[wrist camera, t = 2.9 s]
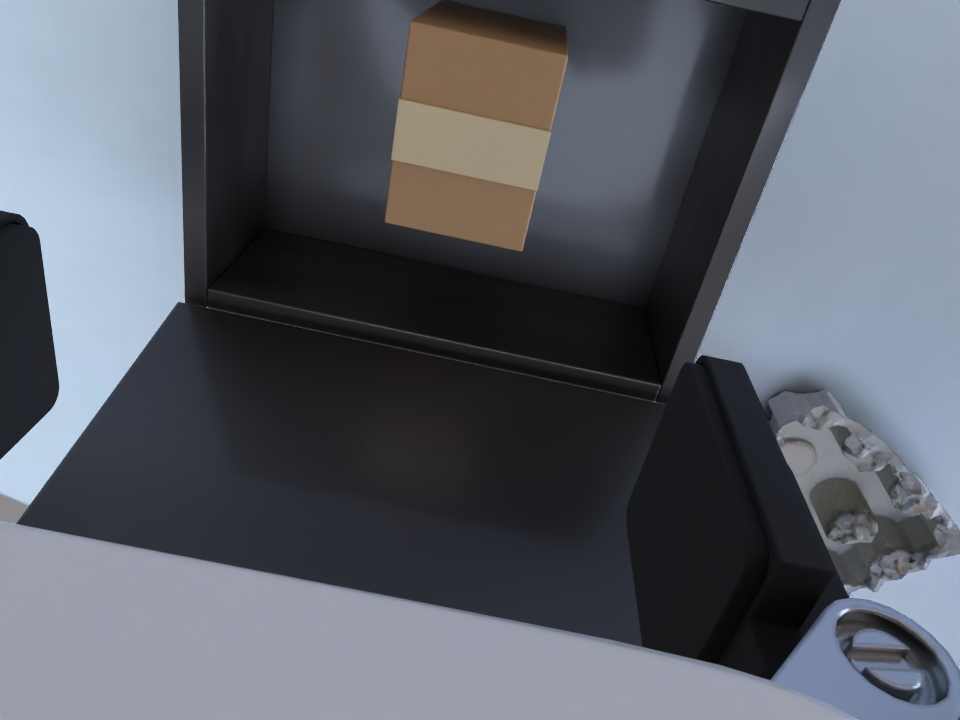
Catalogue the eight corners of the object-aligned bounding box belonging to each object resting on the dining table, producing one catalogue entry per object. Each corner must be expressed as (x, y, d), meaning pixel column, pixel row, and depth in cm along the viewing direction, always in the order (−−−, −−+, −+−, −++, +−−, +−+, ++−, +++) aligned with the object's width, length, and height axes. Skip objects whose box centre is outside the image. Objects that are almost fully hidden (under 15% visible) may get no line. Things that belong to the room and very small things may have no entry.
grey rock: (682, 448, 36) (696, 505, 32) (821, 359, 33) (852, 411, 29) (809, 570, 39) (833, 634, 35) (946, 499, 36) (988, 561, 32)
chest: (263, -136, 25) (173, -154, 19) (777, -22, 25) (843, -4, 19) (252, 234, 32) (184, 303, 26) (655, 320, 32) (676, 407, 27)
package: (441, -2, 26) (408, 20, 20) (566, 26, 26) (569, 56, 20) (417, 165, 29) (382, 224, 23) (529, 189, 29) (522, 254, 23)
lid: (-133, 723, 15) (-55, 806, 18) (742, 896, 15) (661, 947, 18) (177, 300, 26) (190, 401, 29) (682, 407, 26) (638, 494, 29)
